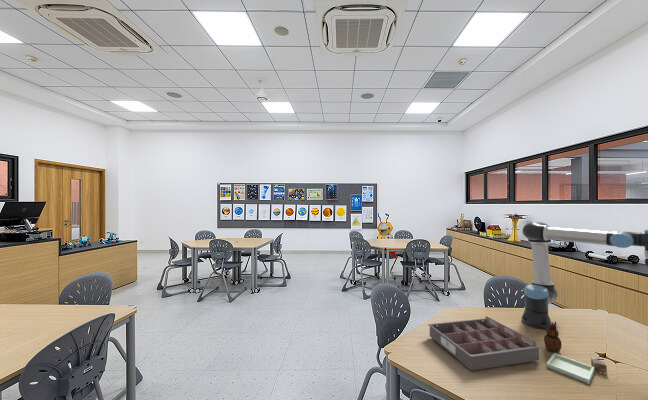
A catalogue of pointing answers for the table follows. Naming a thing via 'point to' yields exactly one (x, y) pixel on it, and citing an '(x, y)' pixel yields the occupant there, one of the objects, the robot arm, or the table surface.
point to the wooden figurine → (552, 339)
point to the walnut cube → (599, 365)
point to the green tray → (571, 368)
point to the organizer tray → (484, 343)
